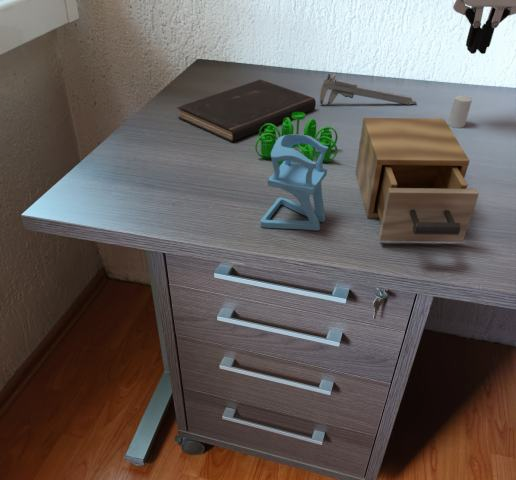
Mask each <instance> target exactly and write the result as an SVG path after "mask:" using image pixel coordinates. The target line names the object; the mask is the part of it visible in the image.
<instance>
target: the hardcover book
mask: <svg viewBox="0 0 516 480" xmlns="http://www.w3.org/2000/svg"><path fill="white" fill-rule="evenodd" d="M316 102H317V101H316V99H315V97H312V96H310V95H306V94H304V93H301V92H298V91H295V90H292V89H289V88H287V87H285V86H281V85H279V84H278V85H277V84H276V83H272V82H270V81H267V80H263V79H258V80H254V81H251V82H248V83H245V84H242V85H239V86H236V87H233V88H230V89H227V90H224V91H221V92H218V93H215V94H212V95H210V96H205V97H203V98H201V99H200V98H199V99H197V100H194V101H191V102H188V103H185V104H182V105H179V106H177V109H178V110H179V115H180V116H178V119H179V120H180V121H183V122H185V123H188V124H189V125H191V126H194V127H196V128H199V129H201V130H202V131H205V132H208V133H210V134H212V135H214V136H216V137H219V138H220V139H223V140H225V141H227V142H229V143H233V142H235V141H238V140H241V139H244V138H246V137H248V136H251V135H253V134H256V133H259V130H260V128H261V127H262V126H263V125H264V124H267V123H270V124H273V125H275V126H277V125H278V124H282V123H283V120H284V118H289V119H290V120H291V119H293V118H292V113H294V112H303V113H305V114H306V113H308V112H311V111H313V110H315V109H316V105H317V103H316ZM267 126H268V125H266V126H264V127H263V128H262V130H261V131H264V130H265V128H267Z"/></svg>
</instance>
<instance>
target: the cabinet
mask: <svg viewBox="0 0 516 480" xmlns="http://www.w3.org/2000/svg"><path fill="white" fill-rule="evenodd" d="M470 161H471V160H470V158H469V157H468V155H467V154H466V152H465V150H464V148H463V147H462V146H461V144H460V143H459V141H458V139H457V137H456V136H455V134H454V132H453V130H452V129H451V128H450V126H449V125H448V122H447V121H446V120H445V118H432V117H431V118H429V117H428V118H425V117H423V118H422V117H421V118H420V117H419V118H417V117H413V118H412V117H363V119H362V125H361V132H360V139H359V145H358V152H357V159H356V165H355V166H356V167H355V176H356V180H357V184H358V187H359V191H360V194H361V199H362V203H363V206H364V210H365V215H366V217H367V219H380V218H379V215H378V211H377V208H376V204H375V202H376V196H377V191H378V185H379V180H380V174H381V168H382V165H435V166H457V168H458V169H459V171H460V173H461V175H462V176H463V178H464V179H465V177H466V174H467V171H468V167H469V164H470Z"/></svg>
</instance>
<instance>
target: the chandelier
mask: <svg viewBox="0 0 516 480" xmlns="http://www.w3.org/2000/svg"><path fill="white" fill-rule="evenodd" d="M305 118H306V113H303V112H294V113H292V118H291V119H293V120H296V133H295V134H299V132H300V131H299V130H300V121H302V120H305ZM291 119H289V118H284V120H283V122H282V125H281V131H280V129H279V128H278V127H277V125H273V124H270V123H267V124H264V125H263V126H262V127H261V128H260V130H259V131H258V138H257V139H256V141H255V144H254V149H255V153H256V154H257V155H258V156H259V157H260V158H262V159H270V158H271V151H272V149H273V147H274V145H275V143H276V141H277V140H278V138H280V137H281V136H284V135H292V134H294V123H293V122H292V121H291ZM266 125H268V126H267V128H265V129H264V130H262V128H263V127H264V126H266ZM330 130H332V131H333V132H334V135H335V138H334V139H333V135H332V131H330ZM262 131H263V134H262ZM277 135H278V137H277ZM303 135H307V136H310V137H312V138H314V139H315V140H317V141H318V142H319V143H321V144H323V145H325V146H327V147H328V149H327V151H326V153H325V155H324V158H323V163H329V162H332V161H333V160H334V159H335V158H336V156H337V154H338V147H337V143H338V132H337V130H336V129H334V128H333V127H332V126H323V127H321V128H319V130H317V121H316V119H314V118H310V119H309V120H308V121H307V123H305V126H304V127H303ZM318 136H319V137H318ZM259 141H260V153H259V152H258V144H259ZM293 147H294V148H299V149H300V153H301V154H303V155H304V156H305V157H307V158H308V159H310V160H311V161H313V162H314V156H315V157H316V159H318V157H319V155H320V152H319V151H318V150H317V149H315V148H314V147H313V146H311V145H308V144H304V143H301V144H296V145H293V146H291V147H290V148H292V149H293ZM333 148H334V154H333V156H331V155H332V149H333ZM317 151H318V153H317ZM331 157H332V158H331ZM284 161H285V160H283V161H279V162H277V163H278V165H279V167H280V165H281V164H282V163H283V162H284ZM301 165H302V164H301Z"/></svg>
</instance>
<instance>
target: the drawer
mask: <svg viewBox="0 0 516 480" xmlns="http://www.w3.org/2000/svg"><path fill="white" fill-rule="evenodd" d="M479 194H480V192H479V190H477V188H468V183H467V182H466V180H465V178H463V176H462V175H461V173H460V171H459V169H458V168H457V166H435V165H382V168H381V174H380V180H379V185H378V191H377V196H376V202H375V204H376V208H377V211H378V215H379V218H378V219H379V221H380V228H379V233H378V238H379V241H380V242H434V243H435V242H436V243H437V242H440V243H442V242H443V243H444V242H445V243H452V242H453V243H463V242H464V240H465V237H466V233H467V231H468V228H469V225H470V222H471V219H472V215H473V213H474V210H475V206H476V204H477V200H478V197H479Z"/></svg>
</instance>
